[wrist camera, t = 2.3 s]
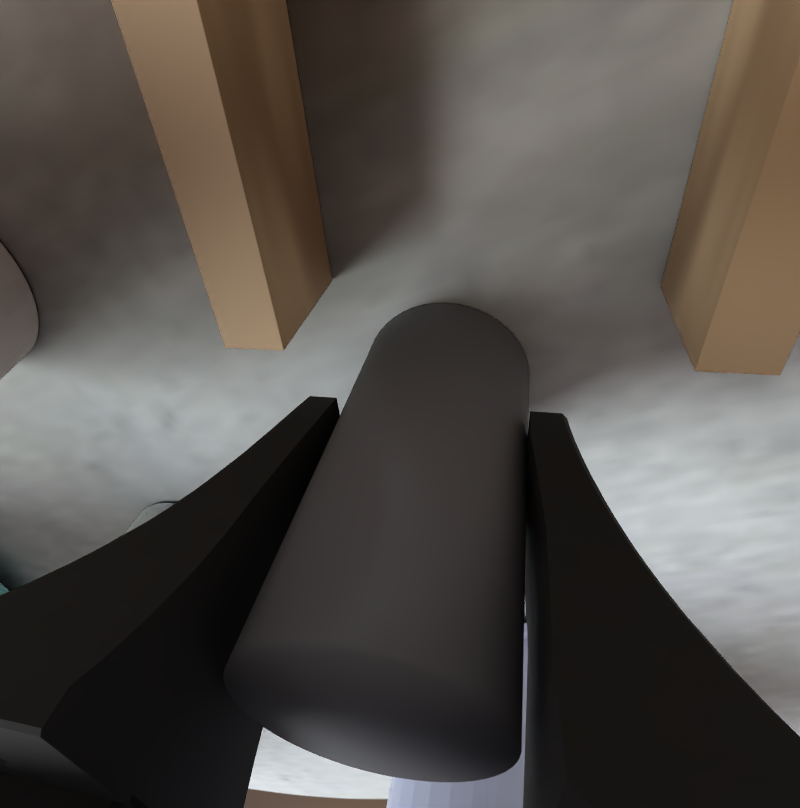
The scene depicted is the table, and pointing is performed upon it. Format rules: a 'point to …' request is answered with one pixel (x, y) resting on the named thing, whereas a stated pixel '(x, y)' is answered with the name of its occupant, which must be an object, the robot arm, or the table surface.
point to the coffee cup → (15, 314)
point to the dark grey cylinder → (405, 565)
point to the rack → (299, 204)
